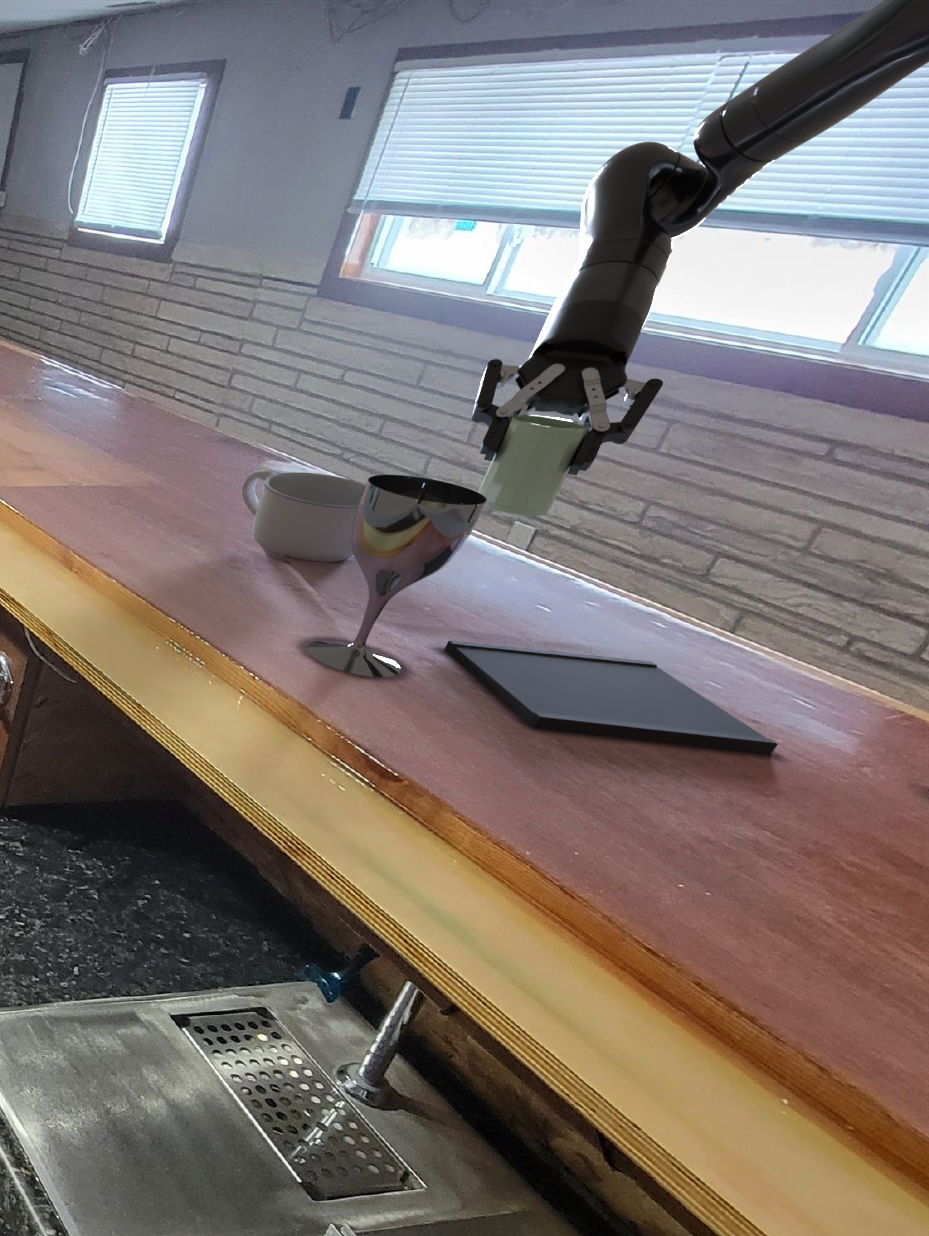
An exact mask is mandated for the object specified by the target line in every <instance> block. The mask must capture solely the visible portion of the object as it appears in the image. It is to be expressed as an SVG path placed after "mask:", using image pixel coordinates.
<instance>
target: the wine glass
mask: <svg viewBox="0 0 929 1236" xmlns="http://www.w3.org/2000/svg"><path fill="white" fill-rule="evenodd" d="M486 501H487V499H486V498H485V496H483V495H482V494H480V493H478V491H476V490H474V489H471V488H469V487H465V486H461V485H459V484H454V483H450V482H447V481H443V480H437V479H431V478H426V477H419V476H414V475H413V476H412V475H404V474H377V475H372V476H370V477H368V478H367V481H366V483H365V487H364V490H363V492H362V495H361V498H360V501H359V504H358V507H357V509H356V514H355V519H354V523H353V529H352V537H351V548H352V551H353V557H354V558H355V561H356V563H357V564H358V566H359V568H360V570H361V572H362V574H363V576H364V579H365V582H366V585H367V589H368V600H367V605H366V609H365V612H364V615H363V619H362V622H361V625H360V628H359V630H358V631H357V634H356V637H355V639H354V640H353V642H352V643H350V642H343V641H336V640H317V641H313V642H310V643H309V644H308V645H307V646H306V651H307V653H308V654H309V655H310V656H311V657H312V658H314V659H315V660H317V661H318V662H320V663H322V664H324V665H326V666H329V667H331V668H334V669H336V670H339V671H342V672H346V673H349V674H353V675H358V676H362V677H363V676H364V677H371V678H390V677H394V676H398V675H399V674H400V672H401V668H402V667H400V665H399V664H398V662H396V661H395V660H394V659H393V658H392V657H389V656H387V655H386V654H384V653H381V652H379V651H377V650H374V649H371V648H369V647H366V644H367V641H368V638H369V636H370V633H371V631H372V629H373V627H374V625H375V623H376V621H377V619H378V618H379V616H380V614H381V613H382V612H383V610H384V608H385V607H386V605H387V604H388V603H389V601H391V599H392V598H394V597H395V596H396V595H397V594H398V593H400V592H401V591H403V590H404V589H406V588H408V587H409V586H412V585H414V584H416V583H418V582H420V581H423V580H424V579H426V578H428V577H430V576H432V575H434V574H436V573H437V572H439V571H441V570H442V569H444V568H445V567H446V566H447V565H448V564H449V563H450V562H452V560H453V558H455V556H456V555H457V553H458V552H459V551H460V550H461V548H462V547H463V546H464V544H465V543H466V541H467V540H468V539H469V537H470V535H471V534H472V532H473V531H474V528H475V527H476V525H477V523H478V521H479V519H480V517H481V516H482V513H483V510H484V509H485V507H484V506H485V504H486Z"/></svg>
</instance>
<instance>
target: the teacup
mask: <svg viewBox="0 0 929 1236" xmlns="http://www.w3.org/2000/svg"><path fill="white" fill-rule="evenodd" d="M259 480H262V481H263V489H262V492H261V496H260V499H258V497H257V495H256V491H255V490H256V485H257V483H258V482H259ZM365 485H366V483H362V482H359V481H356V480H353V479H349V478H345V477H341V476H336V475H330V474H324V473H317V472H316V473H313V472H282V473H276V474H275V473H274V472H272V471H270V470H267V469H261V470H257V471H253V472H251V473H250V474H249V475H248V476H247V477H246V478H245V479H244V482H243V484H242V487H241V494H242V499H243V502H244V503H245V505H246V507H247V508H248V510H249V511H250V512H251V514H252V515H253V516H254V518H253V524H252V535H253V539H254V540H255V541H256V543H257V544H258V546H260V547H261V548H262V551H263V552H264V553H265V554H266V555H267V556H268V557H270V558H272V559H274V560H276V561H279V562H282V563H286V564H288V565H292V563H291V562H290V561H289V560H288V558H287V557H289V558H295V559H299V560H304V561H312V562H322V563H324V562H325V563H333V562H342V561H344V560H347V559H349V558H350V557H352V556H354V554H353V551H352V548H351V537H352V529H353V523H354V519H355V514H356V509H357V507H358V504H359V501H360V498H361V495H362V492H363V490H364V487H365Z"/></svg>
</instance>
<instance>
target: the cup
mask: <svg viewBox="0 0 929 1236" xmlns="http://www.w3.org/2000/svg"><path fill="white" fill-rule="evenodd" d="M588 430H589V427H588V426H587V425H584V424H582V423H579V422H577V421H576V420H575V421H574V420H571V419H565V418H560V417H553V416H547V415H537V414H526V415H515V416H512V417H511V419H510V422H509V424H508V426H507V429H506V431H505V433H504V435H503V438H502V440H501V442H500V444H499V446H498V449H497V451H496V453H495V455H494V458H493V460H492V461H490V464H489V466H488V468H487V470H486V472H485V474H484V477H483V479H482V481H481V483H480V486H479V488H478V491H477V492H478V493H480V494H482V495H483V496H485V498H486V499H487V501H486V504H485V506H484V508H487V509H490V510H493V511H497V512H502V513H505V514H512V515H519V516H527V517H528V516H529V517H538V516H541V517H542V516H545V515H547V514H548V513H549V510H550V509H551V508H552V506H553V504H554V502H555V500H556V498H557V496H558V494H559V492H560V490H561V487H562V486H563V484H564V481H565V479H566V477H567V476H568V471H569V469H570V467H571V465H572V463H573V461H574V459H575V457H576V454H577V452H578V450H579V448H580V446H581V444H582V442H583V440H584V438H585V436H586V434H587V432H588Z"/></svg>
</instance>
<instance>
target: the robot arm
mask: <svg viewBox="0 0 929 1236" xmlns="http://www.w3.org/2000/svg"><path fill="white" fill-rule="evenodd" d="M926 64H929V0H882V1H880V2H879V3H877V4H876V5H875V6H873V7H872V8H871V9H869V10H868V11H866V12H864V13H863V14H862V15H860V16H859V17H857V18H855V19H854V20H852V21H850V22H849V23H847V24H846V25H844V26H843V27H841V28H839V29H838V30H836V31H835V32H833V33H831V34H830V35H829V36H827V37H825V38H824V39H822V40H820V41H819V42H817V43H815V44H814V45H812V46H811V47H809V48H807V49H805V50H804V51H803V52H801V53H800V54H798V55H796V56H795V57H793V58H791V59H790V60H788V61H787V62H785V63H784V64H782V65H781V66H780V67H778V68H776V69H775V70H773V71H772V72H770V73H768V74H767V75H766V76H764V77H763V78H761V79H760V80H758V81H756V82H755V83H753V84H752V85H750V86H748V88H745V90H743V91H741V92H740V93H738V94H737V95H735V96H734V97H732V98H731V99H729V100H728V101H726V102H725V103H723V104H721V106H719V107H717V108H716V109H715V110H713V111H712V112H711V113H710V114H708V115H707V116H706V117H705V118H704V119H702V121H700V123H699V125H698V126H697V127H696V130H695V132H694V135H693V143H692V144H693V148H694V151H695V154H696V156H697V159H699V161H700V162H701V163H699V162H697V161H696V160H694V159H692V158H690V157H689V156H687V155H685V154H682V153H681V152H679V151H677V150H675V149H674V148H672V147H670V146H668V145H665V144H663V143H661V142H657V141H642V142H637V143H634V144H632V145H629V146H627V147H624V148H623V149H621V150H620V151H618V152H617V153H615V154H614V155H613V156H611V157H610V158H609V159H608V160H606V161H605V163H603V164H602V166H601V167H600V168H599V169H598V170H597V172H596V173H595V175H594V176H593V177H592V179H591V181H590V183H589V185H588V187H587V189H586V191H585V194H584V197H583V201H582V205H581V213H580V231H579V255H578V257H577V259H576V262H575V264H574V266H573V267H572V268H573V269H572V271H571V273H570V275H569V277H568V279H567V281H566V283H565V285H564V287H563V288H562V290H561V292H560V293H559V294H558V296H557V298H556V299H555V300H554V303H553V305H552V307H551V310H550V312H549V313H548V314H547V316H546V318H545V322H544V325H543V327H542V330H541V331H540V333H539V336H538V338H537V341H536V343H535V344H534V347H533V349H532V352H531V353H530V355H529V358H527V360H525V361H524V362H522V363H521V364H519V365H504V364H503V361H502V360H501V359H499V358H493V359H491V360H489V361H488V362H487V364H486V367H485V370H484V372H483V374H482V377H481V380H480V384H479V388H478V391H477V394H476V399H475V403H474V406H473V410H472V414H471V418H470V419H471V421H472V422H473V423H477V424H479V423H480V424H481V423H484V424H485V425H487V427H488V428H487V431H486V433H485V435H484V437H483V440H482V442H481V444H480V446H479V454H481V455H485V456H484V458H483V461H488V462H491V461H492V460H493V458H494V455H495V453H496V451H497V449H498V446H499V444H500V442H501V440H502V438H503V435H504V433H505V431H506V429H507V426H508V424H509V422H510V419H511V417H512V416H515V415H528V413H530V412H531V411H533V410H534V411H535V412H542V413H549V412H550V413H552V412H555V413H558V414H561V415H564V416H571V417H574V415H575V419H576V422H579V423H582V424H584V425H587V426H588V427H589V430H588V432H587V434H586V436H585V438H584V440H583V442H582V444H581V446H580V448H579V450H578V452H577V454H576V457H575V459H574V461H573V463H572V465H571V467H570V469H569V471H568V473H567V475H569V476H570V475H571V476H577V475H578V473H579V472H580V471H581V472H586V471H587V470H589V469H590V468H591V467H592V465H593V463H594V462H595V460H596V458H597V455H598V453H599V451H600V449H601V446H602V444H604V443H610V442H612V443H613V444H616V445H623V444H625V443H626V442H628V440H629V438H630V437H631V435H632V434H633V432H634V431H635V429H636V428H637V426H638V424H639V423H640V422H641V420H642V418H643V417H644V415H645V414H646V412H647V411H648V409H649V408H650V406H651V405H652V403H653V402H654V400H655V398H656V397H657V396H658V394H659V392H660V390H661V388H662V387H663V386H664V382H663V380H662V379H660V378H657V377H655V378H650V379H648V380H646V382H643V381H639V380H638V381H637V380H634V379H629V378H628V375H627V374H628V373H627V372H626V371H627V370H626V368H627V365H628V363H629V361H630V359H631V356H632V354H633V351H634V349H635V347H636V345H637V342H638V341H639V338H640V336H641V333H642V331H643V330H644V329H645V326H646V323H647V320H648V317H649V315H650V313H651V311H652V308H653V305H654V300H655V296H656V292H657V289H658V287H659V284H660V283H661V280H662V277H663V275H664V273H665V271H666V268H667V266H668V264H669V261H670V259H671V255H672V253H673V250H674V249H673V248H674V245H673V239H675V238H678V237H681V236H684V235H685V234H687V233H688V232H690V231H692V230H694V229H695V228H697V226H699V225H700V224H701V223H703V222H704V220H705V219H707V218H708V217H709V216H710V215H711V214H712V213H713V212H714V211H715V210H716V209H717V208H719V206H720V205H721V204H722V203H724V201H726V200H727V199H728V198H729V197H730V196H731V195H732V194H734V193H735V192H736V191H737V190H738V189H739V188H741V187H742V186H743V185H744V184H745V183H747V182H748V181H749V180H750V179H751V178H753V177H754V176H755V175H756V174H758V173H759V172H760V171H761V170H762V169H764V168H765V167H767V166H768V165H769V164H771V163H773V162H774V161H776V160H778V159H780V158H782V157H784V156H785V155H787V154H788V153H790V152H792V151H793V150H795V149H797V148H799V147H800V146H802V145H804V144H805V143H808V142H809V141H810V140H812V139H814V138H815V137H818V136H819V135H820V134H822V133H824V132H825V131H827V130H829V129H831V128H833V127H834V126H835V125H837V124H839V123H840V122H842V121H843V120H846V118H849V116H851V115H853V114H854V113H856V112H857V111H859V110H861V108H863V107H865V106H866V105H867V104H869V103H870V102H872V101H874V100H875V99H876V98H878V97H879V96H881V95H882V94H883V93H886V92H887V91H888V90H889V89H891V88H892V87H893V86H895V85H897V84H899V82H901V81H902V80H904V79H905V78H907V77H908V76H910V75H911V74H913V73H914V72H916V71H917V70H919V69H920V68H922V67H924V66H925V65H926ZM512 380H514V381H515V383H516V384H517V386H518V389H519V390H518V391H517V392H516V393H515V394H514V395H513V397H512V398H510V399H509V400H508V401H506V402H505V403H504V404H501V406H498V405H496V404H494V403H493V401H494V399H495V394H496V390H499V389H500V388H503V387H505V386H506V384H507V383H508V382H509V381H512ZM619 394H622V395H624V400H623V402H624V404H625V406H626V407H627V408H628V410H627V411H626V413H625V415H624V416H623V417H622V419H621V421H614V422H610V419H609V416H608V415H609V414H608V412H607V406H608V403H607V401H608V400H609V399H611V398H613V397H615V396H617V395H619Z"/></svg>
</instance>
